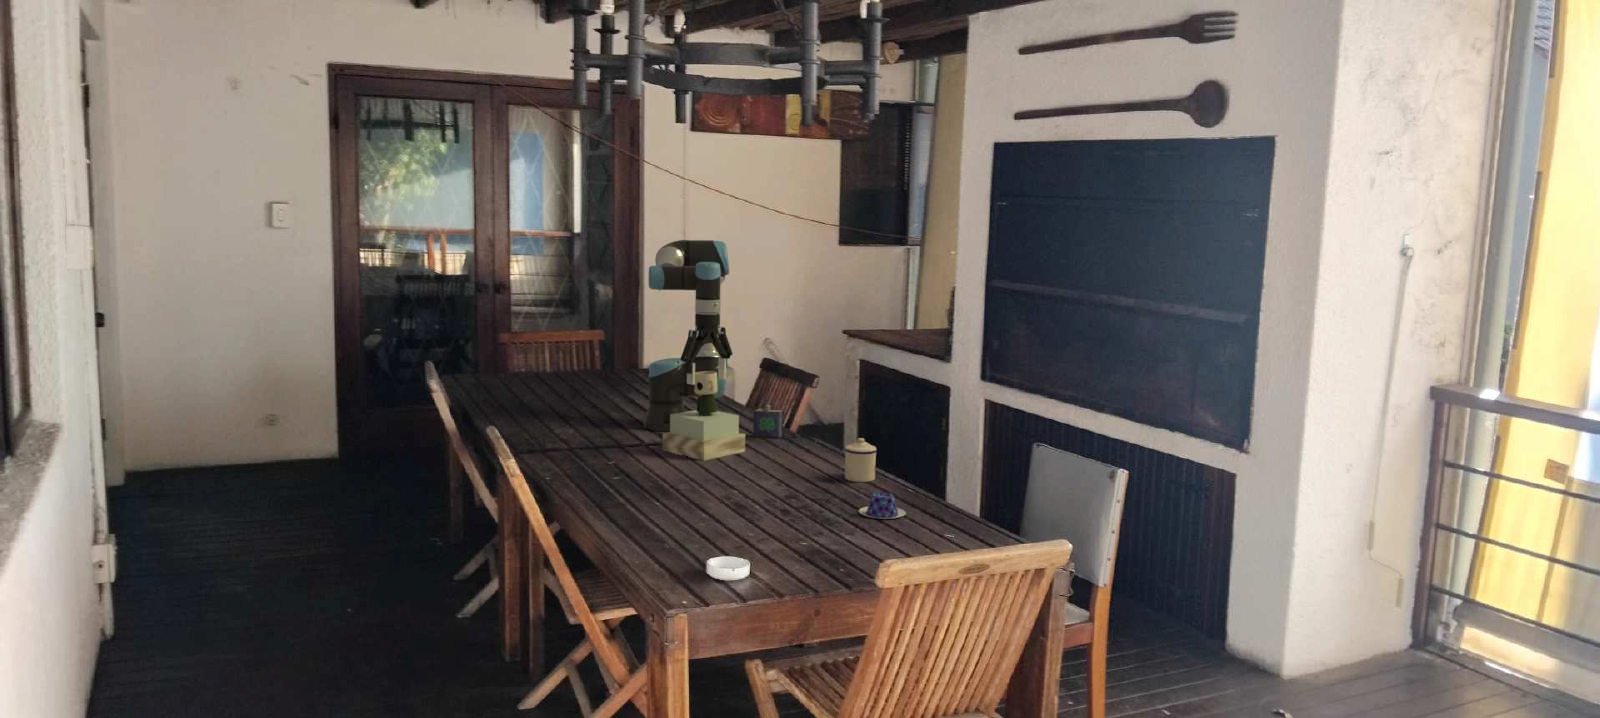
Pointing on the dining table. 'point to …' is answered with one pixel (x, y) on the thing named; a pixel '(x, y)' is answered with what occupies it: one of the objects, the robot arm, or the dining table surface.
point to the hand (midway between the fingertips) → (706, 381)
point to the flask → (767, 423)
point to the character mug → (706, 391)
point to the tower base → (704, 446)
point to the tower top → (704, 425)
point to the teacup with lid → (860, 461)
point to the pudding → (882, 507)
